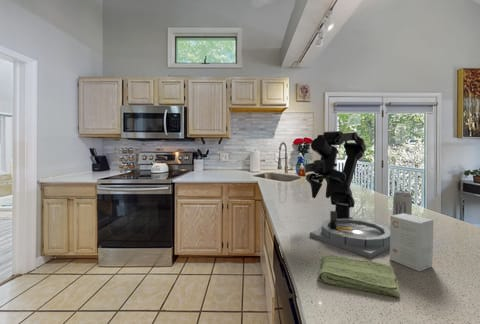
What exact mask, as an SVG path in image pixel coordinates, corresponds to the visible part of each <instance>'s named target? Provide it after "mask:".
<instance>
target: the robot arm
mask: <svg viewBox="0 0 480 324" xmlns="http://www.w3.org/2000/svg"><path fill="white" fill-rule="evenodd" d="M348 141H351V142H348ZM342 144H343V147H344V152H345V155H346V160H345V163H344V165H343V169H342V171H341V170H338V169H335V168H336V167H337V166H338V163H336V160H337V155H338V154H340V152H339V150H338V149H337V148H338V147H336V146H341V145H342ZM310 148H311V150H312V151H314V152H315V153H316V155H319V156H320V159H316V160H313V162H310V163H306V164H304V170H305V171H304V172H305V173H308V174H306V175H305V176H306V177H305V180H306V181H307V182H308V184H309V185H310V188H311V197H312V198H313V199H316V197H317V196H318V194H319V192H320V190H321V188H322V186H323V182H324V180H325V182H326V188H325V198H326V199H329V198H330V203H331V205H333V206H335V208H334V209H335V210H334V211H336V212H337V219H341V218H346V219H347V218H349V219H354V218H353V217H351V215H350V214H351V211H350V210H351V209H352V208H355V202H356V201H355V199H354V197H353V192H352V189H351V184H352V181H353V177H354V174H355V170H356V167H357V164H358V161H359V160H361V159H362V158H363V157H364V154H365V152H366V150H367V148H366V143H365V141H364V139H363V138H361V137H360V136H359V135H358V132H356V131H346V132H343V131H340V130H333V131H332V130H331V131H324V132H323V134H318V135H317V136H316V138H314V139H313V140H312V141H311V142H310Z"/></svg>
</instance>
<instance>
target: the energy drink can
mask: <svg viewBox="0 0 480 324" xmlns="http://www.w3.org/2000/svg"><path fill="white" fill-rule="evenodd" d="M392 198H393V199H392V200H393V202H392V215H397V214H402V213H404V214H409V215H413V214H412V213H413V212H412V211H413V208H412V207H413V196H412V194H411V191H406V190H395V192H394V194H393V197H392Z"/></svg>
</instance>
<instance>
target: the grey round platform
mask: <svg viewBox="0 0 480 324" xmlns="http://www.w3.org/2000/svg"><path fill="white" fill-rule="evenodd" d="M339 223H354V224H361V225H366V226H370V227H373V228H375V229H377V230H379V231H380V232H381V233H382V235H380V236H378V237H358V236H350V235H345V234H344V233H339V232H335V231H333V230H332V229H330V219H327V220H325V221H323V222H322V224H321V228H319V229H316V230H314V231H310V232H309V237H311V238H313V239H316V240H318V241H322V242H324V243H328V244H329V245H333V246H335V247H338V248H341V249H344V250H346V251H349V252H352V253H355V254H358V255H360V256H363V257H366V258H369V259H372V258H374V257H376V256H377V255H379V254H381V253H383V252H385V251H387V250H388V249H389V250H390V227H386V226H385V225H382V224H380V223H377V222H373V221H369V220H365V219H359V218H358V219H356V218H353V219H349V218H347V219H346V218H341V219H337V224H339Z"/></svg>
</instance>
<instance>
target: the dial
mask: <svg viewBox="0 0 480 324" xmlns="http://www.w3.org/2000/svg"><path fill="white" fill-rule="evenodd" d="M329 215H330V216H329V220H330V229H332V230H333V231H335V232H339V233H344V234H345V235H350V236H358V237H378V236H380V235H382V233H381V232H380V231H379V230H377V229H375V228H373V227H370V226H366V225H361V224H354V223H339V224H337V212H336V211H335V210H330V213H329Z"/></svg>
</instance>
